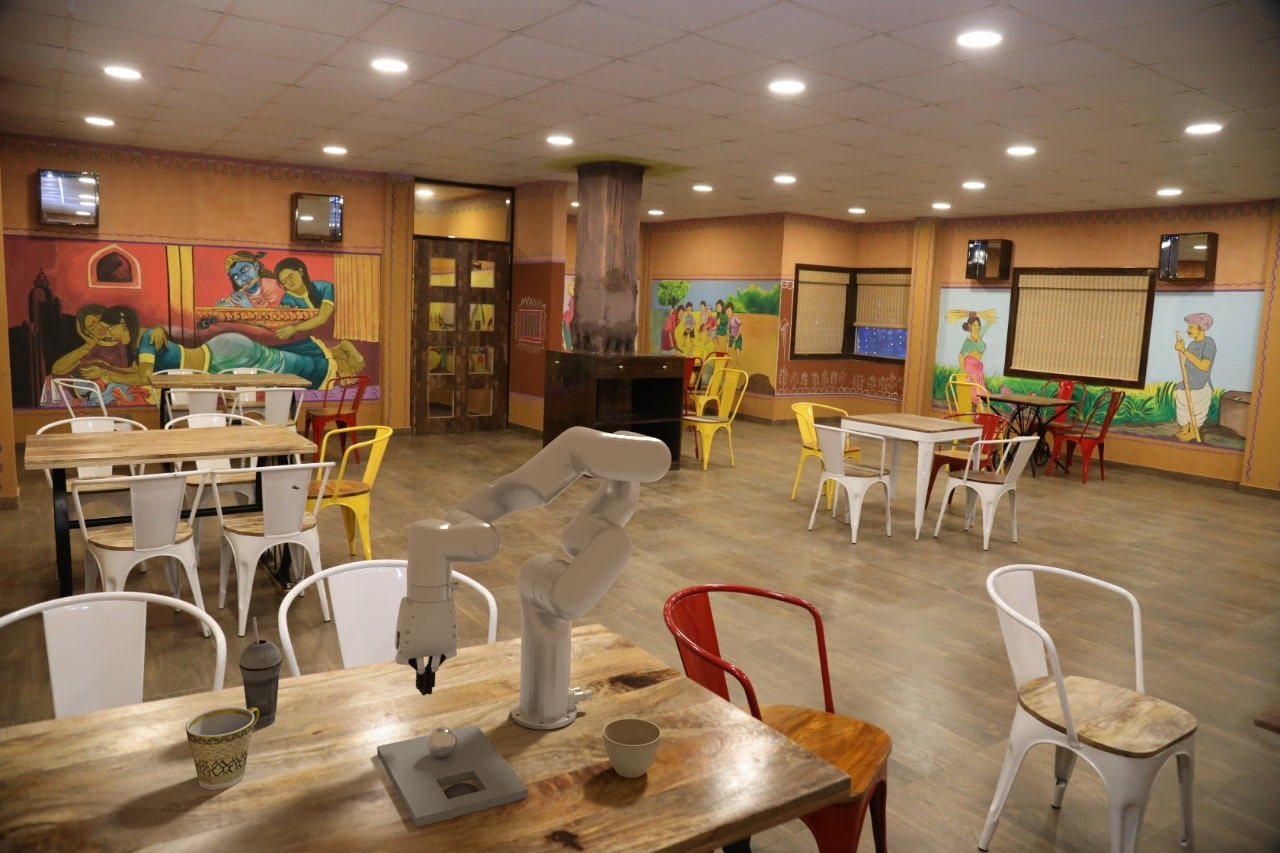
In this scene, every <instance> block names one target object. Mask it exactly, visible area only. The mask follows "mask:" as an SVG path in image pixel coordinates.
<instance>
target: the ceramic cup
mask: <svg viewBox="0 0 1280 853" xmlns="http://www.w3.org/2000/svg"><path fill="white" fill-rule="evenodd" d="M254 711H255V712H256V715H255V718H254V714H253V712H254ZM258 717H259V710H258V709H257V708H255V707H251V708H249V709H246V708H242V707H233V706H232V707H230V706H229V707H221V708H220V707H219V708H215V709H211V710H210V709H209V710H207V711H203V712H202V713H201V712H200V714H199V713H198V714H197V715H196V716H194V717H192V718H190V719H189V720H188V722H186V725H185V732H186V737H187V742H188V746H189V749H190V752H191V755H192V758H193V763H194V766H195V771H196V775H197V780H198V784H199V786H200V788H203V789H206V790H209V791H217V790H223V789H227V788H228V789H229V788H231V787H233V786H234V785H236V784H239V782H241V781H242V780H243V779H244V777H245V773H246V765H247V760H248V754H249V748H250V745H251V744H250V743H251V742H252V741H251V739H252V735H253V731H254V727H253V726H254V725H255V723H256V722H257V720H258Z"/></svg>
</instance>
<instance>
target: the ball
mask: <svg viewBox="0 0 1280 853" xmlns="http://www.w3.org/2000/svg"><path fill="white" fill-rule="evenodd" d="M453 730H454V729H452V728H451V727H448V726H439V727H436V728H435V729H433V730H432V731H431V732H430V733H429V737H428V741H427V746H428V749H429V751H430V753H431V754H432V755H434V756H435V757H439V758H444V757H447V756H449V755H451V754H452V753H453V752H454V750H455V748H456V746H457V736H456V734H455V732H454V731H453Z"/></svg>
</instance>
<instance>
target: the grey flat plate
mask: <svg viewBox="0 0 1280 853" xmlns="http://www.w3.org/2000/svg"><path fill="white" fill-rule="evenodd" d="M452 730H453V731H454V732H455V734H456V736H457V746H456V748H455V750H454V752H453V753H452V754H451V755H449V756H447V757H444V758H439V757H435V756H434V755H432V754H431V753H430V751H429V749H428V746H427V741H428V737H429V735H430V734H429V735H423V736H420V737H414V738H410V739H404V740H400V741H396V742H391V743H386V744H382V745H377V748H376V749H377V750H376V751H377V752H376V753H377V754H376V755H377V757H378V758H379V760H380V763H381V764H382V766H383V769H385V771H386V773H387V775H388V777H389V779H390V781H391V784H392V785H393V787H394V788H395V791H396V792H397V794H398V796H399V797H400V800H401V802H402V803H403V805H404V807H405V809H406V811H407V813H408V814H409V817H410V818H411V821H412V822H413V824H414V826H415V828H420V827H424V826H427V825H431V824H435V823H438V822H442V821H447V820H449V819H453V818H457V817H461V816H465V815H468V814H471V813H476V812H479V811H483V810H487V809H491V808H494V807H499V806H502V805H505V804H510V803H512V802H516V801H517V802H518V801H520V800H523V799H524V800H525V799H528V795H529V793H528V791H529V790H528V788H527V786H526V785H525V783H523V780H521V779H520V777H519V776H518V775H517V774H516V772H515V770H513V768H512V767H511V766H510V765H509V764H508V763H507V761H506V760H505V758H504V757H503V756H502V755H501V754H500V752H499V751H498V750H497V748H496V746H494V745H493V743H492V742H491V741H490V740H489V738H488V736H486V735H485V733H484V732H483V730H481V728H480V727H479V726H478V724H474V725H471V726H466V727H461V728H457V729H456V728H455V729H452ZM471 780H474V781H475V783H476V784H477V786H476V785H475V784H473V783H468V782H466V781H471ZM449 785H450V786H449ZM446 786H448V787H446ZM442 787H446V788H445V790H443V789H442ZM478 787H479V788H478ZM479 789H480V790H479Z"/></svg>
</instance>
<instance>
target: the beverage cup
mask: <svg viewBox="0 0 1280 853" xmlns="http://www.w3.org/2000/svg"><path fill="white" fill-rule="evenodd" d="M252 622H253V624H252V625H253V632H254V638H255V639H254V640H255V641H253V642H251V643H249V644H248V645H247V646H246V647H245V648H244V649H243V650H242V654H241V655H240V659H239V663H238V664H239V665H238V666H239V668H240V674H241V677H242V682H243V690H244V698H245V707H246V708H245V709H249V708H251V707H255V708H257V709H258V710H259V717H258V720H257V722H256V723H255V725H254V726H253V728H256V729H257V728H259V729H261V728H266V727H269V726H271V725H273V724H274V723H275V722H276V717H277V716H276V714H277V705H278V694H279V680H280V672H281V668H282V662H283V658H282V654H281V651H280V649H279V647H278V646H277V645H276V644H275V643H274V642H272V641H270V640H266V639H259V633H258V631H259V630H258V625H257V617H256V616H254V617H252ZM253 714H254V718H255V715H256V712H255V711H254V712H253Z"/></svg>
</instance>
